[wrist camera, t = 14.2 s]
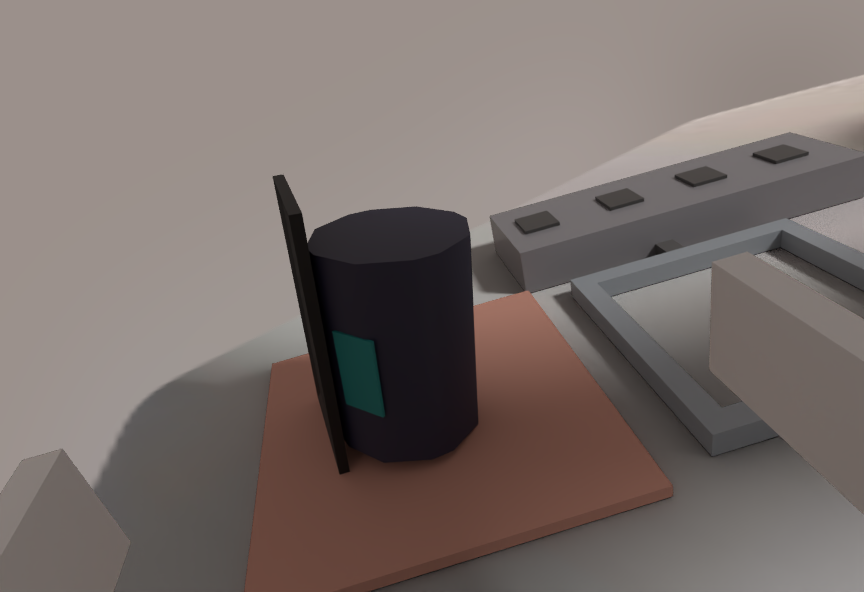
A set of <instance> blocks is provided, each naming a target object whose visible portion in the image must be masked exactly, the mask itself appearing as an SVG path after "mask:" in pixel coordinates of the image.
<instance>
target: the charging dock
mask: <svg viewBox="0 0 864 592" xmlns="http://www.w3.org/2000/svg"><path fill="white" fill-rule="evenodd" d="M862 197H864V152H860V151H857V150H853V149H849V148H846V147H842V146H838V145H835V144H831V143H827V142H824V141H820V140H816V139H813V138H809V137H805V136H801V135H798V134H794V133H790V132H789V133H785V134H782V135H778V136H775V137H771V138H768V139H764V140H760V141H757V142H753V143H750V144H746V145H742V146H739V147H735V148H732V149H728V150H724V151H721V152H717V153H714V154H710V155H707V156H703V157H699V158H696V159H692V160H689V161H685V162H681V163H678V164H674V165H671V166H667V167H663V168H660V169H656V170H653V171H649V172H646V173H642V174H638V175H635V176H631V177H628V178H624V179H620V180H617V181H613V182H610V183H606V184H602V185H599V186H595V187H592V188H588V189H585V190H581V191H577V192H574V193H570V194H567V195H563V196H559V197H556V198H552V199H549V200H545V201H541V202H538V203H534V204H531V205H527V206H524V207H520V208H516V209H513V210H509V211H506V212H502V213H499V214H495V215H491V216H490V221H491V227H492V232H493V238H494V243H495V249H496V253H497V254H498V255H499V257H500V258H501V259H502V261H503V262H504V264H505V265H506V266H507V268H508V269H509V270H510V272H511V273H512V275H513V276H514V277H515V279H516V280H517V282H518V283H519V284H520V286H521V287H522V288H523V290H524V291H528V290H529V292H530V293H532V292H535V291H539V290H542V289H546V288H549V287H553V286H556V285H560V284H563V283H567V282H571V291H572V297H573V298H574V299H575V300H576V301H577V303H578V304H579V305H580V306H581V307H582V308H583V309H584V311H585V312H586V313H587V314H588V315H589V316H590V317H591V319H592V320H593V321H594V322H595V323H596V324H597V325H598V327H599V328H600V329H601V330H602V331H603V332H604V333H605V335H606V336H607V337H608V338H609V339H610V340H611V341H612V343H613V344H614V345H615V346H616V347H617V348H618V349H619V351H620V352H621V353H622V354H623V355H624V356H625V357H626V359H627V360H628V361H629V362H630V363H631V364H632V366H633V367H634V368H635V369H636V370H637V371H638V372H639V374H640V375H641V376H642V377H643V378H644V379H645V380H646V382H647V383H648V384H649V385H650V386H651V387H652V388H653V390H654V391H655V392H656V393H657V394H658V395H659V396H660V398H661V399H662V400H663V401H664V402H665V403H666V404H667V406H668V407H669V408H670V409H671V410H672V411H673V412H674V414H675V415H676V416H677V417H678V418H679V419H680V420H681V422H682V423H683V424H684V425H685V426H686V427H687V428H688V430H689V431H690V432H691V433H692V434H693V435H694V436H695V438H696V439H697V440H698V441H699V442H700V443H701V444H702V446H703V447H704V448H705V449H706V450H707V451H708V452H709V454H710V455H711V456H715V455H718V454H722V453H725V452H728V451H731V450H735V449H738V448H741V447H744V446H747V445H751V444H754V443H757V442H760V441H764V440H767V439H770V438H773V437H776V436H779V435H778V434H777V433H776V432H775V431H774V430H773V429H772V428H771V427H770V426H769V425H767V424H766V423H765V422H764V421H763V420H762V419H761V418H760V417H759V416H758V415H757V414H756V413H755V412H754V411H753V410H751V409H750V408H749V407H748V406H747V405H746V404H745V403H744V402H743V401H741V402H738V403H735V404H732V405H728V406H725V407H721V406H720V405H719V404H718V403H717V402H716V401H715V400H714V399H713V398H712V397H711V396H710V395H709V394H708V393H707V392H706V391H705V390H704V389H703V388H702V387H701V386H700V385H699V384H698V383H697V382H696V381H695V380H694V379H693V378H692V377H691V376H690V375H689V374H688V373H687V372H686V371H685V370H684V369H683V368H682V367H681V366H680V365H679V364H678V363H677V362H676V361H675V360H674V359H673V358H672V357H671V356H670V355H669V354H668V353H667V352H666V351H665V350H664V349H663V348H662V347H661V346H660V345H659V344H658V343H657V342H656V341H655V340H654V339H653V338H652V337H651V336H650V335H649V334H648V333H647V332H646V331H645V330H644V329H643V328H642V327H641V326H640V325H639V324H638V323H637V322H636V321H635V320H634V319H633V318H632V317H631V316H630V315H629V314H628V313H627V312H626V311H625V310H624V309H623V308H622V307H621V306H620V305H619V304H618V303H617V302H616V301H615V300H614V299H613V298H612V297H611V296H614V295H617V294H621V293H624V292H627V291H631V290H634V289H638V288H641V287H645V286H648V285H652V284H655V283H658V282H662V281H665V280H669V279H672V278H676V277H679V276H683V275H686V274H689V273H693V272H696V271H700V270H703V269H707V268H710V267H712V262H713V261H717V260H720V259H724V258H727V257H731V256H734V255H738V254H741V253H744V252H749V253H751V254H752V255H755V254H758V253H762V252H765V251H769V250H772V249H776V248H779V247H781V248H783V249H785V250H787V251H789V252H791V253H792V254H794V255H796V256H798V257H800V258H802V259H804V260H806V261H808V262H810V263H811V264H813V265H815V266H817V267H819V268H821V269H823V270H825V271H827V272H829V273H831V274H832V275H834V276H836V277H838V278H840V279H842V280H844V281H846V282H848V283H850V284H852V285H853V286H855V287H857V288H859V289H861V290H863V291H864V253H861V252H859V251H857V250H855V249H853V248H850V247H848V246H846V245H844V244H842V243H840V242H837V241H835V240H833V239H831V238H829V237H826V236H824V235H822V234H820V233H818V232H815V231H813V230H811V229H809V228H807V227H804V226H802V225H800V224H798V223H796V222H793V221H791V220H789V218H793V217H796V216H800V215H803V214H807V213H810V212H814V211H817V210H821V209H824V208H827V207H831V206H834V205H838V204H841V203H845V202H848V201H852V200H855V199H859V198H862Z"/></svg>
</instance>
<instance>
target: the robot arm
mask: <svg viewBox="0 0 864 592" xmlns="http://www.w3.org/2000/svg"><path fill="white" fill-rule="evenodd" d="M709 370H710V371H711V372H712V373H713V374H714V375H715V376H716V377H717V378H718V379H719V380H720V381H722V382H723V383H724V384H725V385H726V386H727V387H728V388H729V389H730V390H731V391H732V392H733V393H734V394H735V395H737V396H738V397H739V398H740V399H741V400H742V401H743V402H744V403H745V404H746V405H747V406H748V407H749V408H750V409H751V410H753V411H754V412H755V413H756V414H757V415H758V416H759V417H760V418H761V419H762V420H763V421H764V422H765V423H766V424H767V425H769V426H770V427H771V428H772V429H773V430H774V431H775V432H776V433H777V434H778V435H779V436H780V437H781V438H782V439H783V440H785V441H786V442H787V443H788V444H789V445H790V446H791V447H792V448H793V449H794V450H795V451H796V452H797V453H798V454H799V455H801V456H802V457H803V458H804V459H805V460H806V461H807V462H808V463H809V464H810V465H811V466H812V467H813V468H814V469H816V470H817V471H818V472H819V473H820V474H821V475H822V476H823V477H824V478H825V479H826V480H827V481H828V482H829V483H830V484H832V485H833V486H834V487H835V488H836V489H837V490H838V491H839V492H840V493H841V494H842V495H843V496H844V497H845V498H846V499H848V500H849V501H850V502H851V503H852V504H853V505H854V506H855V507H856V508H857V509H858V510H859V511H860V512H861V513H862V514H864V319H863V318H861V317H860V316H858V315H856V314H855V313H853V312H851V311H849V310H848V309H846V308H844V307H842V306H841V305H839V304H837V303H835V302H834V301H832V300H830V299H829V298H827V297H825V296H823V295H822V294H820V293H818V292H816V291H815V290H813V289H811V288H810V287H808V286H806V285H804V284H803V283H801V282H799V281H797V280H796V279H794V278H792V277H790V276H789V275H787V274H785V273H784V272H782V271H780V270H778V269H777V268H775V267H773V266H771V265H770V264H768V263H766V262H764V261H763V260H761V259H759V258H758V257H756V256H754V255H752V254H751V253H749V252H744V253H741V254H738V255H734V256H731V257H727V258H724V259H720V260H717V261H713V262H712V279H711V315H710V352H709ZM130 544H131V541H130V540H129V539H128V537H127V536H126V535H125V533H124V532H123V530H122V529H121V528H120V526H119V525H118V524H117V522H116V521H115V520H114V518H113V517H112V515H111V514H110V513H109V511H108V510H107V509H106V507H105V506H104V505H103V503H102V502H101V500H100V499H99V498H98V496H97V495H96V494H95V492H94V491H93V490H92V488H91V487H90V485H89V484H88V483H87V482H86V480H85V479H84V477H83V476H82V475H81V473H80V472H79V471H78V469H77V468H76V467H75V465H74V464H73V462H72V461H71V460H70V458H69V457H68V456H67V454H66V453H65V451H64V450H63V449H60V450H56V451H53V452H49V453H46V454H42V455H39V456H36V457H32V458H28V459H25V460H22V461H21V463H20V464H19V466H18V467H17V469H16V470H15V472H14V474H13V475H12V476H11V478H10V480H9V481H8V483H7V484H6V486H5V488H4V489H3V490H2V492H1V493H0V592H114V590H115V587H116V584H117V581H118V578H119V575H120V573H121V570H122V567H123V564H124V561H125V558H126V555H127V552H128V550H129V547H130Z"/></svg>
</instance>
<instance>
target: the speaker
mask: <svg viewBox="0 0 864 592" xmlns="http://www.w3.org/2000/svg"><path fill="white" fill-rule="evenodd" d="M273 180H274V185H275V190H276V195H277V200H278V205H279V210H280V214H281V219H282V225H283V229H284V234H285V239H286V244H287V249H288V254H289V259H290V264H291V269H292V274H293V279H294V283H295V288H296V293H297V298H298V303H299V308H300V313H301V318H302V323H303V328H304V332H305V337H306V342H307V347H308V352H309V357H310V362H311V367H312V372H313V377H314V382H315V386H316V391H317V396H318V400H319V404H320V407H321V411H322V414H323V418H324V421H325V425H326V428H327V432H328V436H329V439H330V443H331V446H332V450H333V453H334V457H335V460H336V464H337V467H338V471H339V475H340V474H344V473H347V472H350V469H349V464H348V459H347V453H346V448H345V443H344V440H345V442H346V443H347V445H348V446H349V447H351V448H353V449H355V450H358V451H360V452H362V453H364V454H366V455H368V456H370V457H373V458H375V459H377V460H379V461H381V462H383V463H389V462H404V461H419V460H433V459H435V458H437V457H440V456H442V455H444V454H447V453H449V452H451V451H454V450H455V449H456V448H457V446H458V445H459V444H460V443H461V442H462V441H463V440H464V439H465V438H466V437H467V436H468V435H469V433H470V432H471V431H472V430H473V429H474V428H475V427H476V426H477V425H478V401H477V378H476V355H475V332H474V309H473V286H472V263H471V240H470V231H469V227H468V223H467V218H466V217H464V216H461V215H459V214H457V213H455V212H451V211H444V210H436V209H430V208H422V207H404V208H390V209H377V210H369V211H364V212H359V213H354V214H350V215H347V216H345V217H342V218H340V219H338V220H335V221H333V222H330V223H328V224H326V225H324V226H321V227H319V228H317V229H315V230H314V232H313V234H312V236H311V238H310V240H309V241H308V243H307V238H306V233H305V228H304V223H303V217H302V213H301V210H300V208H299V206H298V204H297V202H296V200H295V198H294V196H293V194H292V192H291V189H290V187H289V185H288V183H287V181H286V179H285V177H284V175H277V176H273Z"/></svg>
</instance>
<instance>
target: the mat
mask: <svg viewBox="0 0 864 592" xmlns="http://www.w3.org/2000/svg"><path fill="white" fill-rule="evenodd" d="M473 309H474V332H475V355H476V378H477V401H478V425H477V426H476V427H475V428H474V429H473V430H472V431H471V432H470V433H469V435H468V436H467V437H466V438H465V439H464V440H463V441H462V442H461V443H460V444H459V445H458V446H457V448H456V449H455V450H454V451H451V452H449V453H447V454H444V455H442V456H440V457H437V458H435V459H433V460H419V461H404V462H389V463H383V462H381V461H379V460H377V459H375V458H373V457H370V456H368V455H366V454H364V453H362V452H360V451H358V450H355V449H353V448H351V447H349V446H348V445H347V443H346V442H345V440H344V443H345V448H346V453H347V459H348V464H349V469H350V472H347V473H344V474H340V475H339V471H338V467H337V464H336V460H335V457H334V453H333V450H332V446H331V443H330V439H329V436H328V432H327V428H326V425H325V421H324V418H323V414H322V411H321V407H320V404H319V400H318V396H317V391H316V386H315V382H314V377H313V372H312V367H311V362H310V357H309V353H308V354H305V355H301V356H298V357H294V358H291V359H287V360H284V361H280V362H277V363H273V364H272V370H271V378H270V386H269V394H268V402H267V411H266V419H265V427H264V435H263V443H262V451H261V459H260V467H259V476H258V484H257V492H256V500H255V508H254V516H253V524H252V532H251V541H250V549H249V557H248V565H247V573H246V581H245V589H244V592H368V591H372V590H375V589H378V588H381V587H384V586H388V585H391V584H394V583H397V582H400V581H404V580H407V579H410V578H413V577H416V576H420V575H423V574H426V573H429V572H432V571H436V570H439V569H442V568H445V567H448V566H452V565H455V564H458V563H461V562H464V561H467V560H471V559H474V558H477V557H480V556H483V555H487V554H490V553H493V552H496V551H499V550H503V549H506V548H509V547H512V546H515V545H519V544H522V543H525V542H528V541H531V540H535V539H538V538H541V537H544V536H547V535H551V534H554V533H557V532H560V531H563V530H567V529H570V528H573V527H576V526H579V525H583V524H586V523H589V522H592V521H595V520H599V519H602V518H605V517H608V516H611V515H615V514H618V513H621V512H624V511H627V510H631V509H634V508H637V507H640V506H643V505H647V504H650V503H653V502H656V501H659V500H663V499H666V498H669V497H672V496H673V485H672V484H671V482H670V481H669V480H668V478H667V477H666V476H665V474H664V473H663V472H662V470H661V469H660V468H659V466H658V465H657V464H656V462H655V461H654V459H653V458H652V457H651V455H650V454H649V453H648V451H647V450H646V449H645V447H644V446H643V445H642V443H641V442H640V441H639V439H638V438H637V436H636V435H635V434H634V432H633V431H632V430H631V428H630V427H629V426H628V424H627V423H626V422H625V420H624V419H623V418H622V416H621V415H620V413H619V412H618V411H617V409H616V408H615V407H614V405H613V404H612V403H611V401H610V400H609V399H608V397H607V396H606V395H605V393H604V392H603V391H602V389H601V388H600V386H599V385H598V384H597V382H596V381H595V380H594V378H593V377H592V376H591V374H590V373H589V372H588V370H587V369H586V368H585V366H584V365H583V363H582V362H581V361H580V359H579V358H578V357H577V355H576V354H575V353H574V351H573V350H572V349H571V347H570V346H569V345H568V343H567V342H566V341H565V339H564V338H563V336H562V335H561V334H560V332H559V331H558V330H557V328H556V327H555V326H554V324H553V323H552V322H551V320H550V319H549V318H548V316H547V315H546V313H545V312H544V311H543V309H542V308H541V307H540V305H539V304H538V303H537V301H536V300H535V299H534V297H533V296H532V295H531V293H530V292H529V290H528V291H524V292H521V293H517V294H514V295H510V296H507V297H503V298H500V299H496V300H493V301H489V302H486V303H482V304H479V305H475V306H473Z"/></svg>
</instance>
